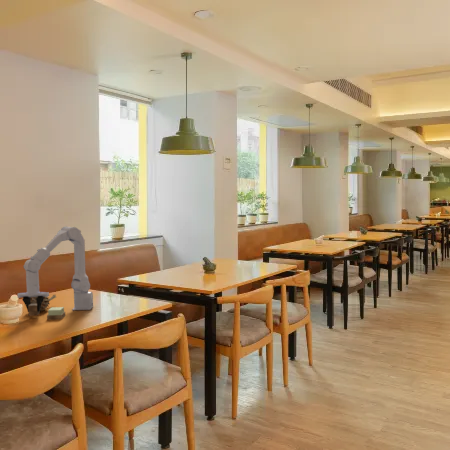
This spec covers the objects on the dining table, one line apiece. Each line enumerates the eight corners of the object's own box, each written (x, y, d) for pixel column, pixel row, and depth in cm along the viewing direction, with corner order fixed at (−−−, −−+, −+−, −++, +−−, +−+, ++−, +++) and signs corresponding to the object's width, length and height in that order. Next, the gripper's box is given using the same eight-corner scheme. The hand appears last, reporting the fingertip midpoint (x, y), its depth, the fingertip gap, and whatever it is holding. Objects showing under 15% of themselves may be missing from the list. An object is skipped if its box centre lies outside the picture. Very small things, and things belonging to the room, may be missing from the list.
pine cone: (41, 315, 244) (40, 295, 243) (23, 314, 245) (22, 295, 244) (62, 305, 265) (61, 287, 265) (45, 304, 267) (45, 286, 266)
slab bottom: (65, 316, 242) (65, 311, 242) (61, 320, 235) (61, 315, 235) (51, 317, 241) (50, 312, 241) (47, 320, 234) (46, 315, 234)
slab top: (63, 312, 241) (63, 307, 241) (61, 315, 235) (60, 310, 235) (51, 312, 240) (51, 307, 240) (48, 315, 235) (48, 310, 234)
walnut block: (39, 313, 240) (39, 303, 240) (37, 315, 236) (36, 305, 236) (31, 313, 240) (30, 303, 240) (28, 315, 236) (28, 305, 236)
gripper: (14, 286, 233) (15, 314, 234) (45, 285, 234) (46, 313, 234) (19, 283, 240) (21, 310, 241) (49, 282, 241) (50, 309, 242)
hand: (34, 311), depth 238 cm, fingers closed on walnut block, 4 cm apart
